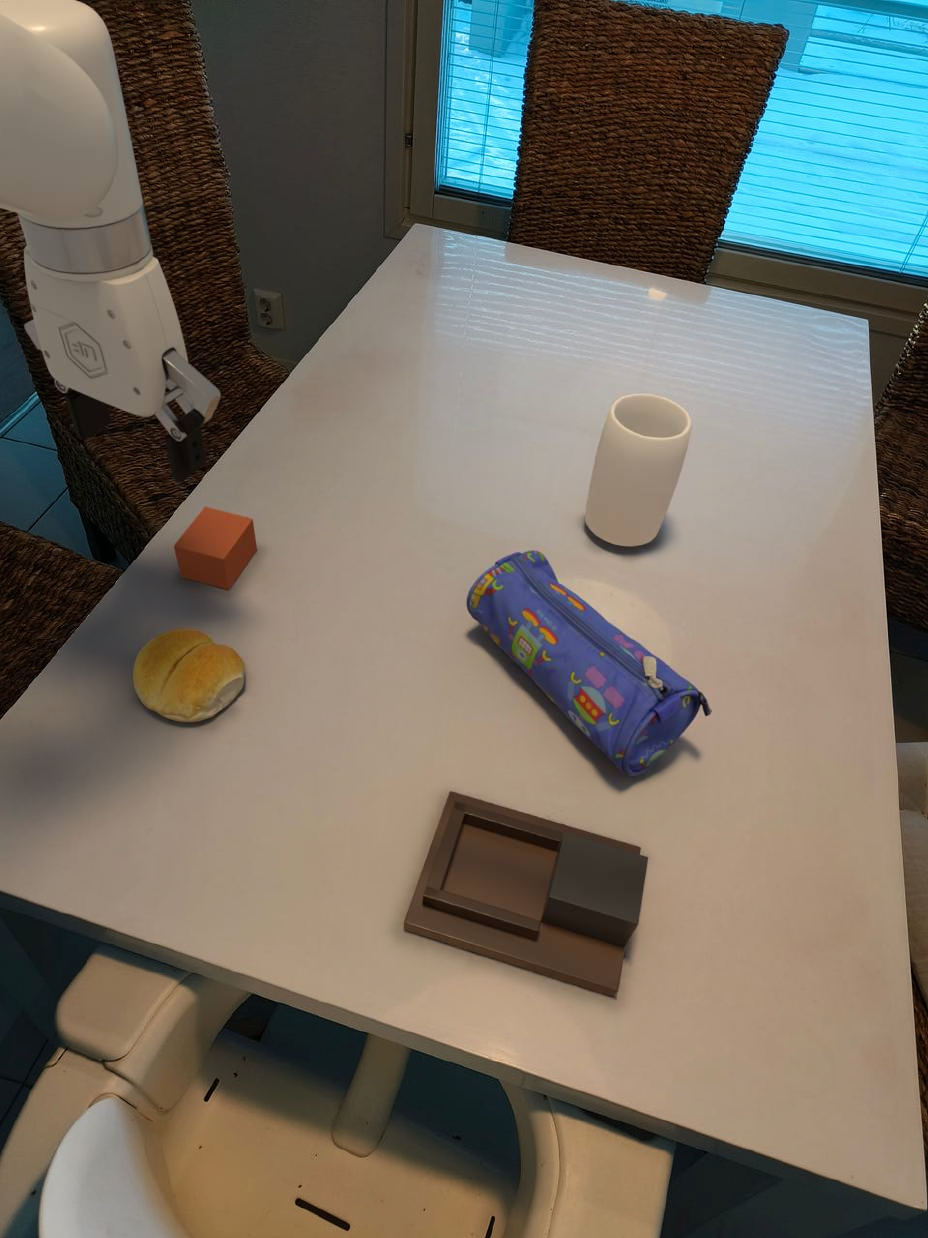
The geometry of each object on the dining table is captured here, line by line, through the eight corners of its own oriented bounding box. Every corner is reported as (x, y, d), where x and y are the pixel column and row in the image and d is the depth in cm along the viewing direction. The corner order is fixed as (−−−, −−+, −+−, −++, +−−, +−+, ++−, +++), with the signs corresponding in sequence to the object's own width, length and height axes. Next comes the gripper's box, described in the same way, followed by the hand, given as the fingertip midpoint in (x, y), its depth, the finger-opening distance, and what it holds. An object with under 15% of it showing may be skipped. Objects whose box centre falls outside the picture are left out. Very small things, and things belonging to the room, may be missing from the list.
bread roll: (184, 631, 76) (176, 600, 73) (261, 677, 73) (256, 646, 70) (112, 690, 71) (101, 660, 68) (192, 742, 68) (183, 712, 65)
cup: (590, 495, 94) (617, 382, 83) (665, 517, 92) (702, 404, 82) (570, 543, 88) (596, 428, 78) (650, 566, 86) (687, 452, 76)
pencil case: (695, 751, 71) (729, 680, 64) (622, 803, 67) (651, 733, 60) (526, 594, 82) (540, 518, 75) (455, 630, 78) (463, 554, 72)
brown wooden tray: (614, 997, 57) (631, 968, 53) (403, 930, 59) (404, 897, 55) (637, 854, 64) (654, 819, 61) (449, 798, 66) (453, 761, 63)
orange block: (180, 576, 81) (173, 545, 78) (210, 537, 85) (204, 506, 82) (229, 590, 80) (223, 559, 77) (257, 549, 84) (253, 518, 81)
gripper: (-58, 217, 55) (24, 438, 67) (152, 294, 50) (197, 516, 63) (33, 181, 60) (94, 394, 72) (233, 249, 55) (260, 463, 67)
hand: (142, 450), depth 67 cm, fingers open, 9 cm apart
